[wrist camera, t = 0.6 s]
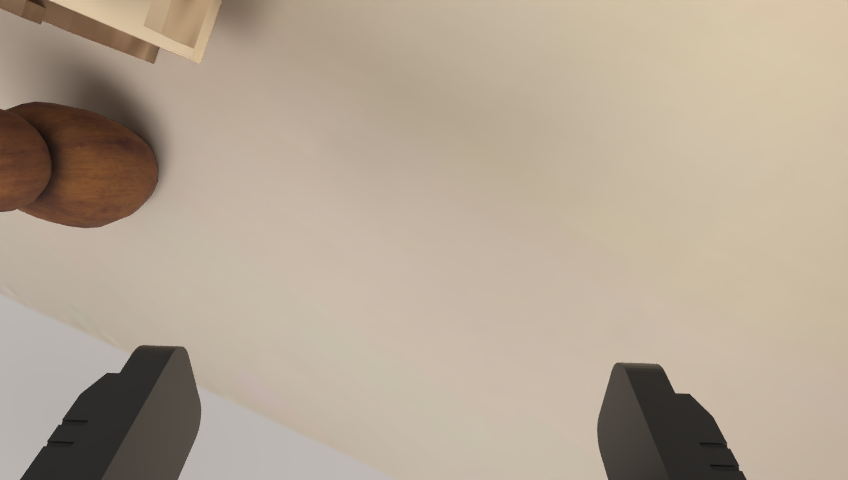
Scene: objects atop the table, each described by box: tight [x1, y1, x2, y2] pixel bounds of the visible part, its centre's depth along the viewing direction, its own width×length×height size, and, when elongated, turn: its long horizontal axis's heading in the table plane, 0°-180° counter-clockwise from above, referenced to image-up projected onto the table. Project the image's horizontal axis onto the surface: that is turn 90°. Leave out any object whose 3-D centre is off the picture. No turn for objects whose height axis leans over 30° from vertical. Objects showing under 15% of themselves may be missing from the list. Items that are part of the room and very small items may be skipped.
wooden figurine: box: [0, 102, 158, 228], centre depth 26 cm, size 7×6×15 cm
